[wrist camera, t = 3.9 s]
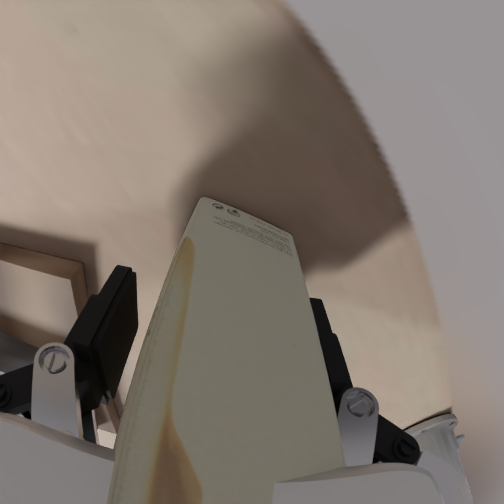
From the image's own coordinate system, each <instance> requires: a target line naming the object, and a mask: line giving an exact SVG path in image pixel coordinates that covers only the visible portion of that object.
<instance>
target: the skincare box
mask: <svg viewBox="0 0 504 504" xmlns="http://www.w3.org/2000/svg"><path fill="white" fill-rule="evenodd" d="M114 450H115V463H114V468H113V473H112V478H111V483H110V488H109V494H108V499H107V504H272V498H273V490H274V483H276V482H281V481H286V480H291V479H296V478H300V477H305V476H309V475H314V474H318V473H322V472H325V471H329V470H333V469H337V468H342V467H346V462H345V458H344V452H343V444H342V440H341V435H340V430H339V426H338V420H337V416H336V411H335V406H334V401H333V396H332V392H331V387H330V383H329V378H328V374H327V370H326V365H325V361H324V357H323V352H322V348H321V345H320V340H319V335H318V331H317V327H316V323H315V319H314V315H313V311H312V307H311V303H310V299H309V296H308V292H307V288H306V284H305V280H304V276H303V273H302V269H301V265H300V261H299V258H298V254H297V251H296V247H295V244H294V240H293V237H292V235H291V234H289V233H288V232H285V231H283V230H281V229H279V228H277V227H275V226H273V225H271V224H269V223H267V222H265V221H263V220H260V219H258V218H256V217H254V216H252V215H249V214H247V213H245V212H243V211H240V210H238V209H236V208H233V207H231V206H228V205H226V204H223V203H221V202H218V201H215V200H213V199H210V198H207V197H201V198H200V200H199V201H198V203H197V205H196V207H195V210H194V212H193V214H192V216H191V218H190V220H189V222H188V224H187V227H186V229H185V231H184V233H183V236H182V238H181V241H180V243H179V245H178V248H177V250H176V253H175V255H174V258H173V261H172V263H171V266H170V268H169V271H168V274H167V276H166V279H165V282H164V285H163V287H162V290H161V293H160V296H159V299H158V301H157V304H156V307H155V310H154V313H153V316H152V318H151V321H150V324H149V327H148V330H147V333H146V336H145V339H144V342H143V345H142V348H141V351H140V354H139V358H138V361H137V364H136V368H135V371H134V374H133V378H132V381H131V384H130V388H129V391H128V395H127V398H126V402H125V406H124V409H123V413H122V417H121V420H120V424H119V428H118V432H117V436H116V440H115V444H114Z"/></svg>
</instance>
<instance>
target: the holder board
mask: <svg viewBox="0 0 504 504" xmlns="http://www.w3.org/2000/svg"><path fill="white" fill-rule="evenodd" d="M87 301H88V294H87V288H86V281H85V274H84V266H83V263H81V262H76V261H72V260H68V259H63V258H59V257H55V256H51V255H46V254H42V253H38V252H34V251H30V250H26V249H22V248H18V247H15V246H11V245H7V244H3V243H0V375H2V374H5V373H8V372H10V371H13V370H16V369H19V368H22V367H24V366H27V365H30V364H33V363H34V359H35V355H36V353H37V351H38V350H39V349H40V348H41V347H42V346H44V345H46V344H48V343H54V342H56V343H62V344H63V343H64V341H65V340H66V338H67V336H68V334H69V332H70V330H71V329H72V327H73V325H74V323H75V322H76V320H77V318H78V316H79V315H80V313H81V311H82V310H83V308H84V306H85V305H86V303H87ZM94 412H95V420H96V427H97V429H101V430H105V431H108V432H111V433H115V434H117V432H118V428H119V424H120V419H119V416H118V413H117V410H116V407H115V404H114V401H113V399H111V398H110V399H109V402H108V405H105V404H101V403H100V405H99V408H96V409H94Z"/></svg>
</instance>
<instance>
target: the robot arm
mask: <svg viewBox="0 0 504 504" xmlns="http://www.w3.org/2000/svg"><path fill="white" fill-rule="evenodd" d="M309 299H310V303H311V307H312V311H313V315H314V319H315V323H316V327H317V331H318V335H319V340H320V345H321V348H322V352H323V357H324V361H325V365H326V370H327V374H328V378H329V383H330V387H331V392H332V396H333V401H334V406H335V411H336V416H337V420H338V426H339V430H340V435H341V440H342V444H343V452H344V458H345V462H346V467H342V468H337V469H333V470H329V471H325V472H322V473H318V474H314V475H309V476H305V477H300V478H296V479H291V480H286V481H281V482H276V483H274V490H273V498H272V504H474V503H473V499H472V495H471V492H470V488H469V485H468V482H467V479H466V476H465V473H464V470H463V467H462V464H461V461H460V458H459V455H458V452H457V450H458V449H459V448H460V443H462V442H464V441H465V436H464V435H463V434H462V435H459V436H457V437H456V436H455V434H454V431H453V429H454V428H455V427H456V425H457V423H458V421H457V418H456V416H455V415H454V414H445V415H441V416H438V417H435V418H432V419H429V420H427V421H424V422H422V423H420V424H417V425H415V426H413V427H411V428H409V429H407V430H405V431H403V430H402V429H400V428H399V427H397V426H396V425H394V424H393V423H391V422H390V421H388V420H387V419H385V418H384V417H382V416H381V415H379V414H378V413H379V405H378V402H377V399H376V398H375V397H374V395H373V394H372V393H370V392H369V391H367V390H365V389H363V388H358V387H355V388H353V385H352V382H351V379H350V375H349V372H348V369H347V365H346V362H345V359H344V356H343V353H342V350H341V346H340V343H339V340H338V337H337V335H336V334H335V333H332V330H331V326H330V323H329V320H328V317H327V314H326V311H325V308H324V305H323V302H322V300H321V299H316V298H309ZM137 329H138V310H137V282H136V273H135V272H132V268H130V267H125V266H120V265H117V266H116V267H115V269H114V270H113V272H112V273H111V275H110V276H109V278H108V280H107V281H106V283H105V285H104V286H103V288H102V289H101V291H100V293H99V294H98V295H94V294H93V295H92V296H91V297H90V298H89V300H88V301H87V303H86V305H85V306H84V308H83V310H82V311H81V313H80V315H79V316H78V318H77V320H76V322H75V323H74V325H73V327H72V329H71V330H70V332H69V334H68V336H67V338H66V340H65V341H64V343H63V344H62V343H56V342H54V343H48V344H46V345H44V346H42V347H41V348H40V349H39V350H38V351H37V353H36V355H35V359H34V363H33V364H30V365H27V366H24V367H22V368H19V369H16V370H13V371H10V372H8V373H5V374H2V375H0V504H107V499H108V494H109V488H110V483H111V478H112V473H113V468H114V463H115V450H114V449H110V448H107V447H104V446H100V445H99V439H98V433H97V427H96V420H95V412H94V409H96V408H99V405H100V403H101V404H105V405H108V402H109V399H110V398H111V399H114V397H115V395H116V392H117V388H118V385H119V382H120V379H121V376H122V373H123V370H124V367H125V364H126V361H127V358H128V355H129V352H130V350H131V347H132V344H133V341H134V338H135V336H136V333H137Z"/></svg>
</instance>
